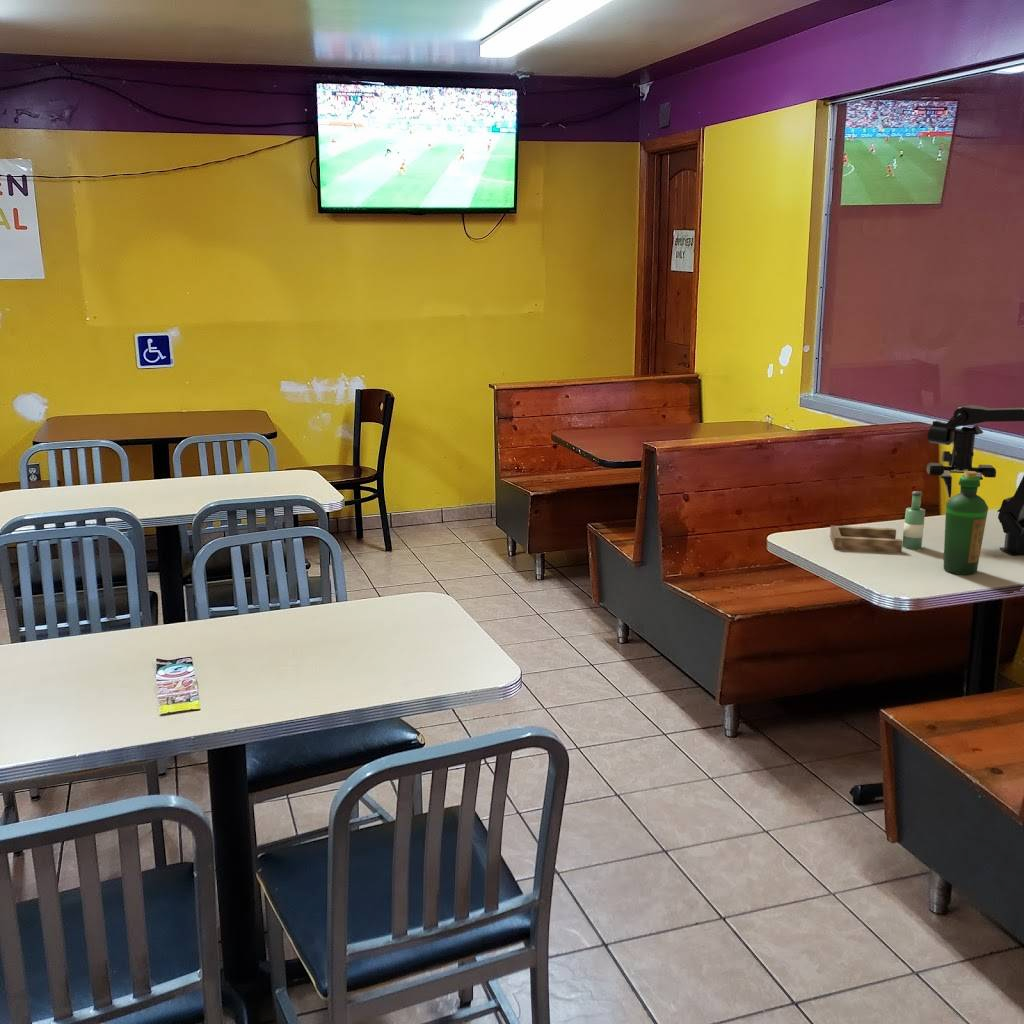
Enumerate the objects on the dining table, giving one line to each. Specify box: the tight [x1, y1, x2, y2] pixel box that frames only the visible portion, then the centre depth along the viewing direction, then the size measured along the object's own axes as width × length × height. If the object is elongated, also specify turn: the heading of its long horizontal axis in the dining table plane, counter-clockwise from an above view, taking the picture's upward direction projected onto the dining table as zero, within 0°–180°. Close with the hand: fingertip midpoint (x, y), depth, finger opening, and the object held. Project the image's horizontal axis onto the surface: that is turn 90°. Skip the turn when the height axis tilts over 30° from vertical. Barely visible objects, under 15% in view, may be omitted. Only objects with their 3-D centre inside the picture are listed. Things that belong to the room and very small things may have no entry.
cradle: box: [829, 525, 903, 554], centre depth 309 cm, size 19×14×4 cm
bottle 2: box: [943, 471, 989, 576], centre depth 280 cm, size 11×11×28 cm
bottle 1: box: [902, 490, 926, 550], centre depth 304 cm, size 6×6×17 cm
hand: (958, 497), depth 311 cm, fingers open, 5 cm apart
